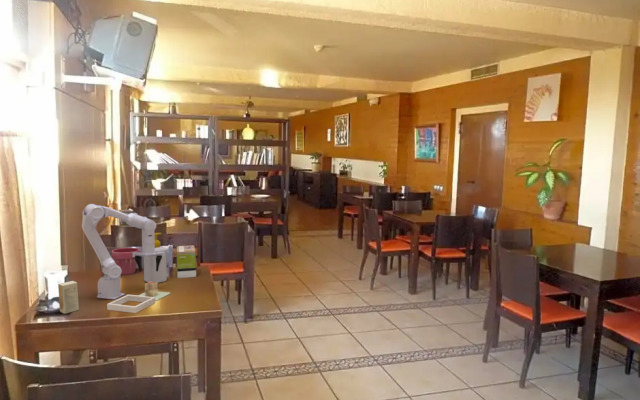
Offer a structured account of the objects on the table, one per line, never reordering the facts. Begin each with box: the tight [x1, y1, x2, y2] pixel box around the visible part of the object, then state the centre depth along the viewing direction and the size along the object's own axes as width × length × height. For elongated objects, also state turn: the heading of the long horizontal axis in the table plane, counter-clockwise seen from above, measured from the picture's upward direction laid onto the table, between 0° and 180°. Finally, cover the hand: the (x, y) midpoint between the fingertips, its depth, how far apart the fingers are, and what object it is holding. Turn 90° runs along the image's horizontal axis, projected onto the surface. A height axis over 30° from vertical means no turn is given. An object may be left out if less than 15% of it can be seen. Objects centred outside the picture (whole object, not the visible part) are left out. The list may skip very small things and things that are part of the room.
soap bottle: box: [143, 232, 168, 284], centre depth 243 cm, size 9×9×25 cm
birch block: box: [144, 281, 159, 297], centre depth 219 cm, size 4×4×6 cm
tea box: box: [176, 244, 197, 279], centre depth 258 cm, size 15×10×15 cm
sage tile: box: [138, 290, 172, 302], centre depth 220 cm, size 12×12×1 cm
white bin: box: [106, 294, 156, 314], centre depth 205 cm, size 14×14×2 cm
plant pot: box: [111, 247, 141, 276], centre depth 260 cm, size 14×14×13 cm
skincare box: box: [57, 280, 80, 315], centre depth 198 cm, size 6×4×12 cm
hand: (149, 271), depth 228 cm, fingers open, 7 cm apart
